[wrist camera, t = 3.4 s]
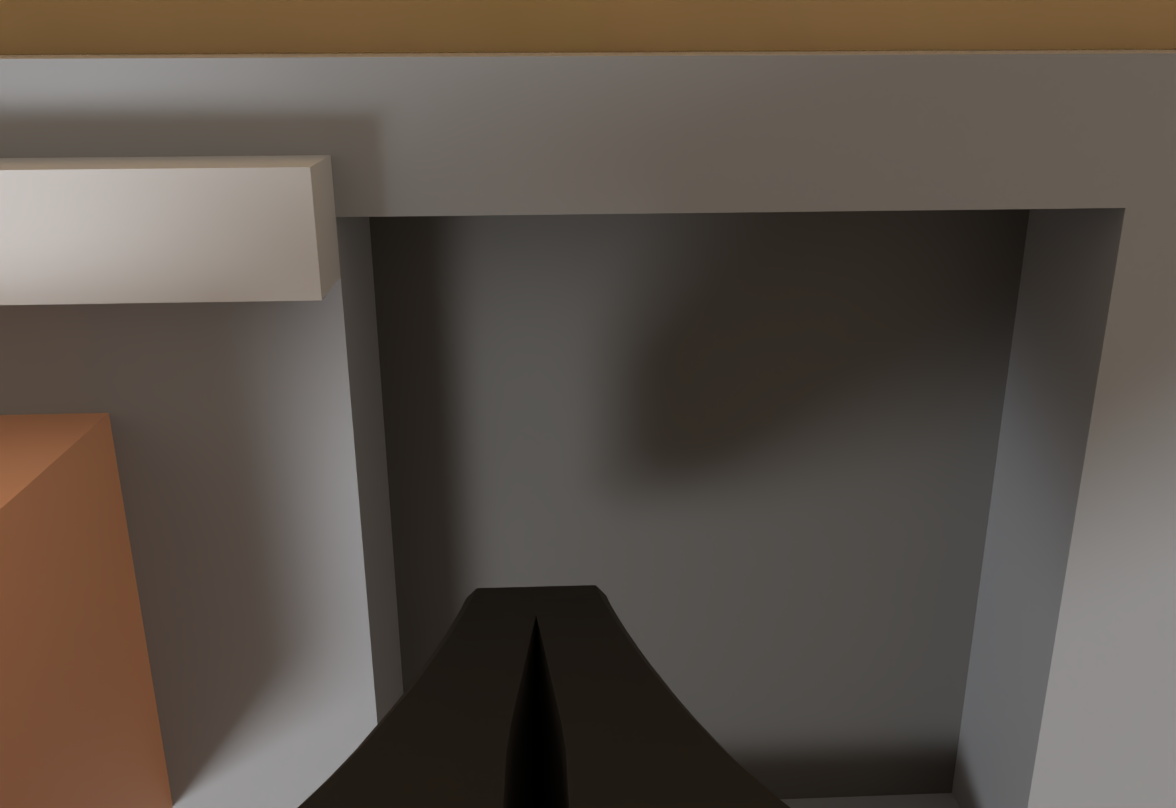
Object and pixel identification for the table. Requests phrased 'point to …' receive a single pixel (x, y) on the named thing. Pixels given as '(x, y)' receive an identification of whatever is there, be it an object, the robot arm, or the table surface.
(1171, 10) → the table surface
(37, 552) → the terracotta block
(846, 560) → the tunnel deck
